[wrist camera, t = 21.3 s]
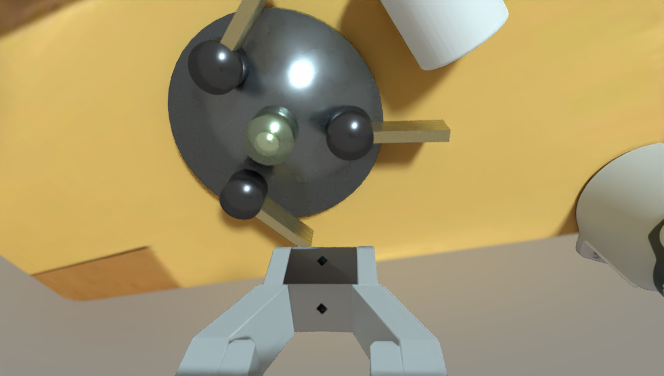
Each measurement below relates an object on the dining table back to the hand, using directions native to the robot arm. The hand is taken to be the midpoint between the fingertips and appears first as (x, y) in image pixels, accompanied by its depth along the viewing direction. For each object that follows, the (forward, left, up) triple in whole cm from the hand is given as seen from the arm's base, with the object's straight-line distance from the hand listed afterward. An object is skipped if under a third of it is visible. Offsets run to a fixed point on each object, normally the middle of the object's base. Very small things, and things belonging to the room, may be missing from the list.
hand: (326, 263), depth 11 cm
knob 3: (-6, +2, -27) cm, 28 cm away
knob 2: (+1, +17, -27) cm, 32 cm away
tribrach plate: (+4, +8, -29) cm, 30 cm away
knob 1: (+10, 0, -27) cm, 29 cm away
